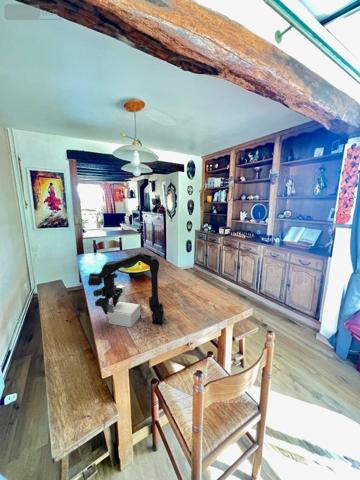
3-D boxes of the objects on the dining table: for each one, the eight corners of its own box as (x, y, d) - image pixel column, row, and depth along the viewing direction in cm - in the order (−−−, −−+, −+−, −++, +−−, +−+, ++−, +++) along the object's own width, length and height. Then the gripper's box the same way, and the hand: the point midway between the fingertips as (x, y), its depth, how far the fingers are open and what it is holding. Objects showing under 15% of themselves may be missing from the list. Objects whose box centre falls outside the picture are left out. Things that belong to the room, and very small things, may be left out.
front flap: (131, 326, 115) (130, 308, 113) (130, 327, 114) (130, 309, 112) (109, 322, 118) (108, 304, 116) (108, 323, 117) (107, 305, 115)
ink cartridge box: (115, 306, 138) (114, 286, 135) (111, 303, 141) (110, 284, 138) (125, 301, 144) (125, 282, 142) (121, 299, 147) (120, 280, 145)
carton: (139, 316, 126) (139, 304, 125) (131, 326, 116) (131, 313, 114) (119, 313, 129) (119, 301, 128) (110, 322, 119) (109, 310, 117)
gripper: (106, 277, 124) (107, 300, 126) (85, 289, 106) (87, 317, 109) (122, 279, 121) (123, 303, 124) (104, 292, 103) (105, 320, 106)
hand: (110, 310), depth 116 cm, fingers open, 8 cm apart
